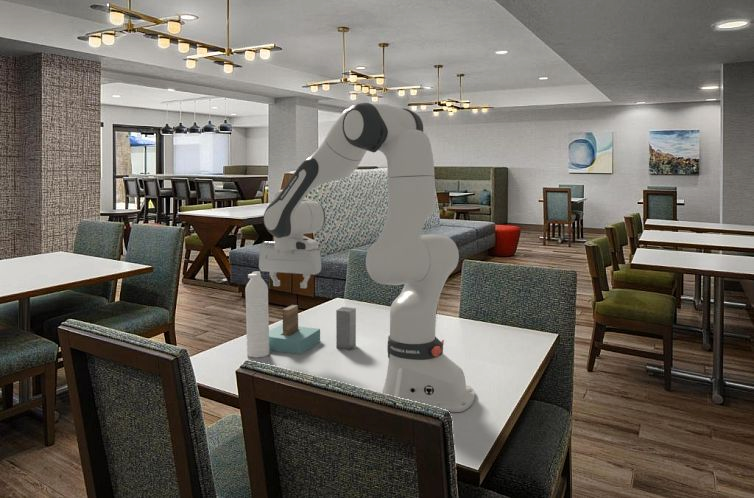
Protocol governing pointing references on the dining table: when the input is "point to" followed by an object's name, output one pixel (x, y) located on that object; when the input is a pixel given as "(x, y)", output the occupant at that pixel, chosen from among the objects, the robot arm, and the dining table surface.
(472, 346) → the dining table surface
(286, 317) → the walnut blade
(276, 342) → the socket block
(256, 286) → the water bottle
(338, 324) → the square metal peg
